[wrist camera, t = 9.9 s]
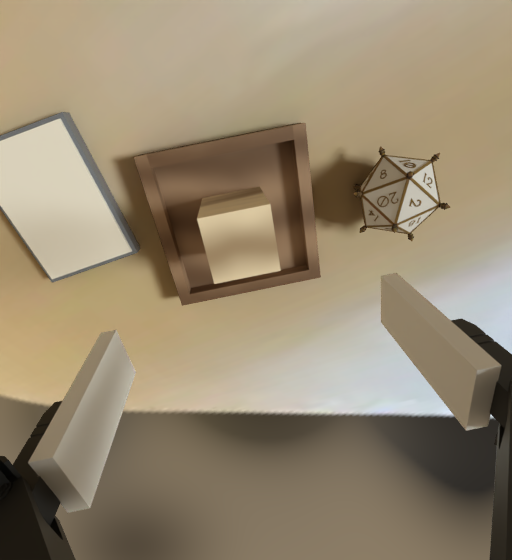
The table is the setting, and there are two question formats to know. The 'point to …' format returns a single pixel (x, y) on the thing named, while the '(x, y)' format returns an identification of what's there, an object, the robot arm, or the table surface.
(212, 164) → the walnut tray
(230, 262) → the beech block
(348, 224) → the table surface
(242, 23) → the table surface
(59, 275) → the white grey flat slab
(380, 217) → the game die
